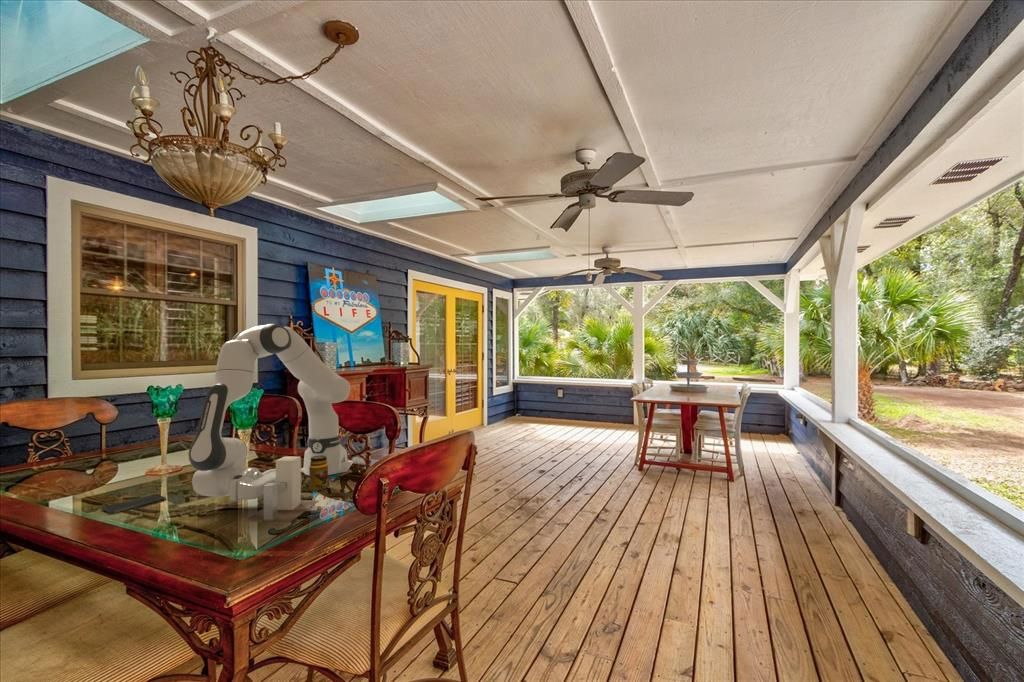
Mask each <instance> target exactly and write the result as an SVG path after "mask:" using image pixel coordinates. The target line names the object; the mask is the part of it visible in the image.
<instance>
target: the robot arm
mask: <svg viewBox="0 0 1024 682" xmlns="http://www.w3.org/2000/svg"><path fill="white" fill-rule="evenodd" d="M272 355H276V356H277V357H278V359H279V360H280V361H281V362H282V364H283V365H284V366H285V368H287V369H288V372H290V373H291V374H292V375H293V377H295V378H296V379H298V380H299V382H298V384H297V393H298V394H299V396H300V397H301V398H302V400H303V402H304V405H305V408H306V412H307V416H308V417H307V418H308V437H307V447H308V448H307V449H305V451H304V457H303V458H304V459H303V467H301V473H303V474H304V475H306V476H309V467H310V465H311V464H310V462H311V458H312V457H313V456H319V455H323V456H326V457H327V464H328V476H330V475H336V474H340V473H346V472H348V471H349V470H350V468H351V467H352V465H353V463H354V461H353V460H350V459H348V450H346V448H345V447H344V446H343V445H342V444H341V440H342V439H343V433H341V434H340V433H339V415H338V414H337V412H336V411H335V410H334V408H333V404H337V403H341V402H345V400H347V399H348V398H349V396H350V393H351V385H350V383H349V381H348V380H347V379H346V378H344V377H342V376H340V375H339V374H338V373H337V372H335V371H334V370H332V369H331V368H330V367H329V366H328V365H326V363H324V362H323V361H322V360H321V359H320V358H319V357H318V355H317V354H316V353H315V352H314V351H313V349H312V348H311V347H310V346H309V345H308V343H307V342H306V341H305V340H304V338H303V337H302V336H300V334H298V333H297V331H295V330H294V329H293V328H292V327H290V326H283V325H281V324H278V323H268V324H262V325H257V326H252V327H250V328H249V329H248V328H247V329H244V330H241V331H239V332H236V334H235V335H234V336H233V337H232V338H231V340H228V341H226V342H225V343H223V345H221V349H220V351H219V354H218V358H217V362H216V368H215V374H214V379H213V383H212V385H211V387H210V388H209V389H208V391H207V393H206V396H205V399H204V402H203V406H202V410H201V414H200V419H199V423H198V427H197V430H196V434H195V436H194V439H193V441H192V442H191V445H190V447H189V450H188V461H189V463H190V465H191V466H192V467H193V468H194V469H195V470H196V471H195V472H194V473H193V475H192V479H191V483H192V489H193V490H194V492H196V494H199V495H200V496H204V497H212V498H215V497H217V498H221V497H222V498H223V497H227V496H229V501H230V502H238V501H239V500H241V501H242V500H243V501H245V500H247V501H248V500H255V499H259V498H261V497H264V485H266V484H268V483H276V468H271V469H267V470H265V471H263V472H262V471H260V470H259V469H258V467H244V466H245V463H246V459H247V456H248V447H247V444H246V443H245V442H244V441H243V440H242V439H240V438H237V437H223V436H222V429H223V426H224V420H225V417H226V412H227V409H228V407H229V406H230V405H231V404H232V403H233V402H235V401H238V400H242V399H243V398H244V397H246V396H248V394H249V393H250V392H251V391H252V388H253V383H254V380H255V379H254V377H255V364H256V362H255V361H256V360H257V359H261V358H266V357H268V356H272ZM286 487H287V483H286V482H281V483H277V490H279V489H285V488H286Z"/></svg>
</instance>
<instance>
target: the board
mask: <svg viewBox="0 0 1024 682" xmlns="http://www.w3.org/2000/svg"><path fill="white" fill-rule="evenodd" d="M318 502H319V500H311V499H310V500H306V499H304V500H303V499H301V504H300V505H299V506H297V507H296V508H294V509H293V510H277V518H276V519H274V520H273V521H264V507H263V508H262V509H260V510H258V511H257V512H255V513H254V514H252V515H250V516H248V517H247V518H246V519H244V520H243V522H253V523H254V522H258V523H259V522H261V523H262V522H265V523H268V522H269V523H272V522H273V523H274V522H276V523H291V522H293V521H294V520H295V519H297V518H298V517H299V516H301V515H302V514H303V513H305V512H306V511H307V510H309V509H310V508H312V507H313V506H315V505H316V504H317V503H318Z"/></svg>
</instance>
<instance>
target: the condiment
mask: <svg viewBox="0 0 1024 682" xmlns="http://www.w3.org/2000/svg"><path fill="white" fill-rule="evenodd" d="M310 464H311V465H310V467H309V475H308V476H309V480H308V481H309V482H308V483H309V485H308V486H309V491H315V492H317V491H322V490H326V489H328V488H329V475H328V464H327V457H326V456H323V455H319V456H313V457H312V458H311V462H310Z"/></svg>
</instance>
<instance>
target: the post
mask: <svg viewBox="0 0 1024 682" xmlns="http://www.w3.org/2000/svg"><path fill="white" fill-rule="evenodd" d="M263 508H264V521H273V520H274V519H276V518H277V483H268V484H266V485H264V495H263Z"/></svg>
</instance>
